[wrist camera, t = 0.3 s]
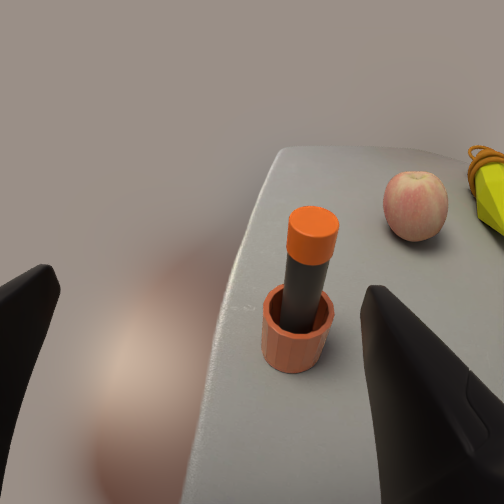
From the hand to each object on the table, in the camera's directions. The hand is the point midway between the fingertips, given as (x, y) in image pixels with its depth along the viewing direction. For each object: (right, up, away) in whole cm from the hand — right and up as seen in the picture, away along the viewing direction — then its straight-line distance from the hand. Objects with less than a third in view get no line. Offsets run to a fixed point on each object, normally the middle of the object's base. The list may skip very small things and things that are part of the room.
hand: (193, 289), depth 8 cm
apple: (+20, +3, +27) cm, 34 cm away
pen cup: (+5, -7, +17) cm, 18 cm away
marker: (+5, -6, +16) cm, 18 cm away
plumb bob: (+39, +8, +32) cm, 51 cm away
